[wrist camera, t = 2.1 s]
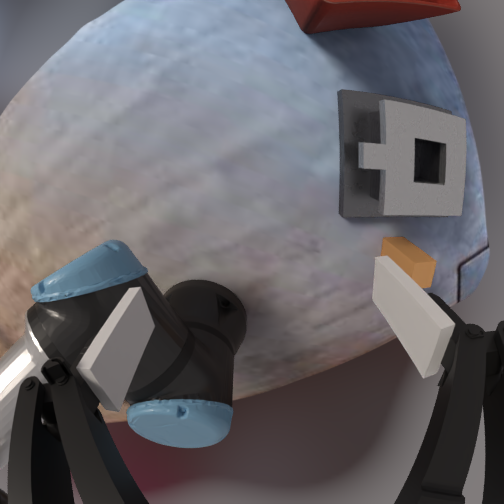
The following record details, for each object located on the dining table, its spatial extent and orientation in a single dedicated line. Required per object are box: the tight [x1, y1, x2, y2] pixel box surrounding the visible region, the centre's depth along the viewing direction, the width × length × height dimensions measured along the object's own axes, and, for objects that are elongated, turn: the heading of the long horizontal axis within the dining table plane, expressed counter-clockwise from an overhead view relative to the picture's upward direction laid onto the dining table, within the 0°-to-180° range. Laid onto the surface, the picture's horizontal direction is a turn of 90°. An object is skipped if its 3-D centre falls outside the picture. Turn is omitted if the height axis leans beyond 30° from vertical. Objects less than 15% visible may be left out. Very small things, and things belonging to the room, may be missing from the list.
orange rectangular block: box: [381, 237, 437, 288], centre depth 36 cm, size 4×4×10 cm
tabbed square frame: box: [337, 89, 466, 217], centre depth 31 cm, size 18×20×8 cm
